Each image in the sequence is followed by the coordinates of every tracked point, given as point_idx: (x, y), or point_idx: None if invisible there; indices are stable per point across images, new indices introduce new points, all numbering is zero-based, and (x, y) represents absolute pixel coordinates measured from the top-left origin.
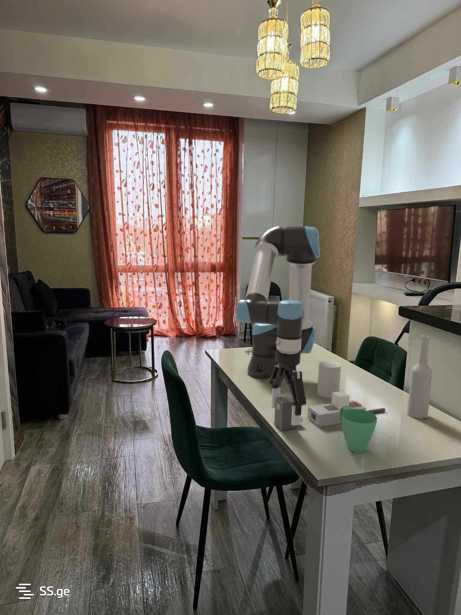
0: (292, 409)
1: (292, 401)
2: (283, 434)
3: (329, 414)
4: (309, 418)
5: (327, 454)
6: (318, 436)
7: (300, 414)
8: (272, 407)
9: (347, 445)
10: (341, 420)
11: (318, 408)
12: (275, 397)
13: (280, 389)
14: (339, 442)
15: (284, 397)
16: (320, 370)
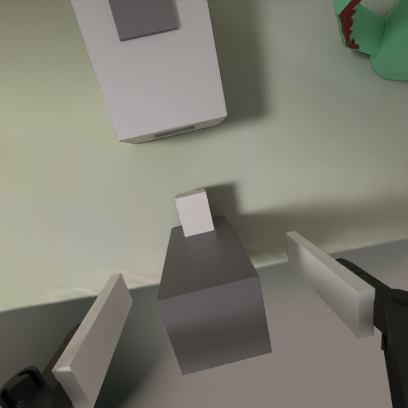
0: (337, 310)
1: (257, 301)
2: (255, 259)
3: (214, 49)
4: (149, 140)
5: (394, 167)
6: (288, 154)
7: (347, 263)
8: (131, 303)
9: (398, 79)
10: (348, 22)
11: (145, 88)
12: (183, 374)
13: (74, 357)
14: (343, 93)
15: (186, 332)
16: None
